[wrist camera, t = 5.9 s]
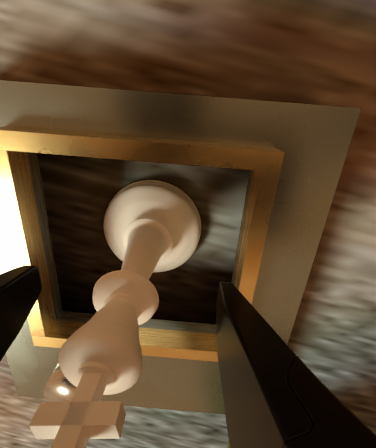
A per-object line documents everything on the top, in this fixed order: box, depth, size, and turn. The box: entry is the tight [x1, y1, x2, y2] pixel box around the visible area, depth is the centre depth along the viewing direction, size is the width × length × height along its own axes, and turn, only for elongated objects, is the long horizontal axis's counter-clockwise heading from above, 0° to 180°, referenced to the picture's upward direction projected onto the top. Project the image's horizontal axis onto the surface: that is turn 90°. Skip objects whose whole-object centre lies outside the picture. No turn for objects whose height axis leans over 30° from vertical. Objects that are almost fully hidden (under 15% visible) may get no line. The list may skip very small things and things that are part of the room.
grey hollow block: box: [0, 80, 361, 414], centre depth 12 cm, size 14×16×5 cm
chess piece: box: [29, 180, 201, 448], centre depth 9 cm, size 5×5×10 cm
